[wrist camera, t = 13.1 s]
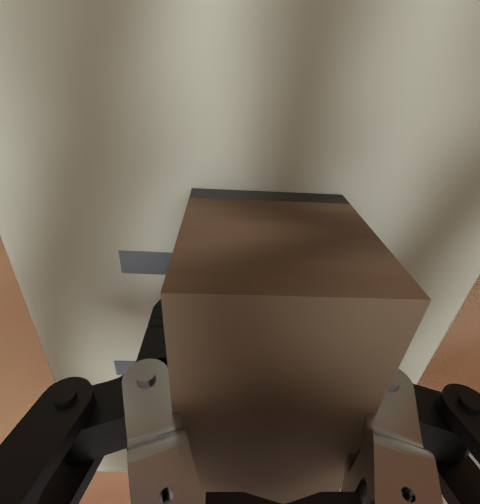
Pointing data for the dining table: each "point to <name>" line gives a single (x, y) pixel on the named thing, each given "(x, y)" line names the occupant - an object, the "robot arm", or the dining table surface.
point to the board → (227, 147)
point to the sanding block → (281, 337)
